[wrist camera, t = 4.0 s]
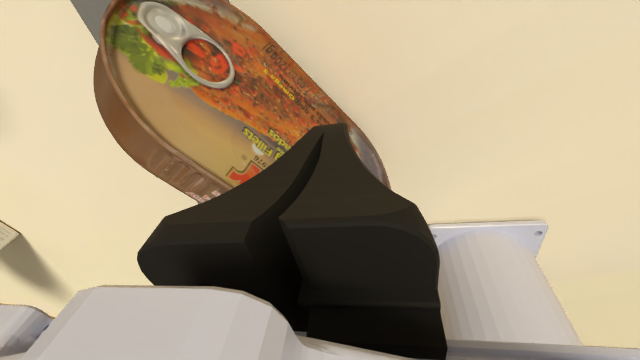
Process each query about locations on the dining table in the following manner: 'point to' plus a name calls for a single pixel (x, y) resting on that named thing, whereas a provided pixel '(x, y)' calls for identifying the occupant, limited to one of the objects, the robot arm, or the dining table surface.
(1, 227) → the skincare box
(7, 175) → the dining table surface
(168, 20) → the tin
